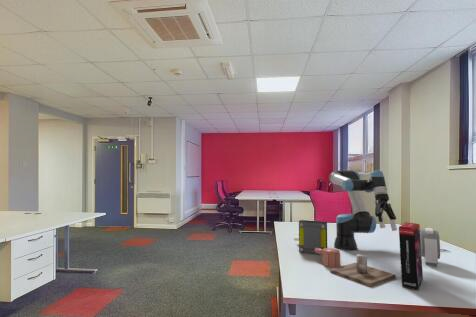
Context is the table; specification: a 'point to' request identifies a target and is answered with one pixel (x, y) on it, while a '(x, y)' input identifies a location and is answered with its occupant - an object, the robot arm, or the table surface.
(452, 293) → the table surface
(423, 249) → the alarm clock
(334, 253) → the cap
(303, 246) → the electrical component
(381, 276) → the base
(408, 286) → the graphics card box
